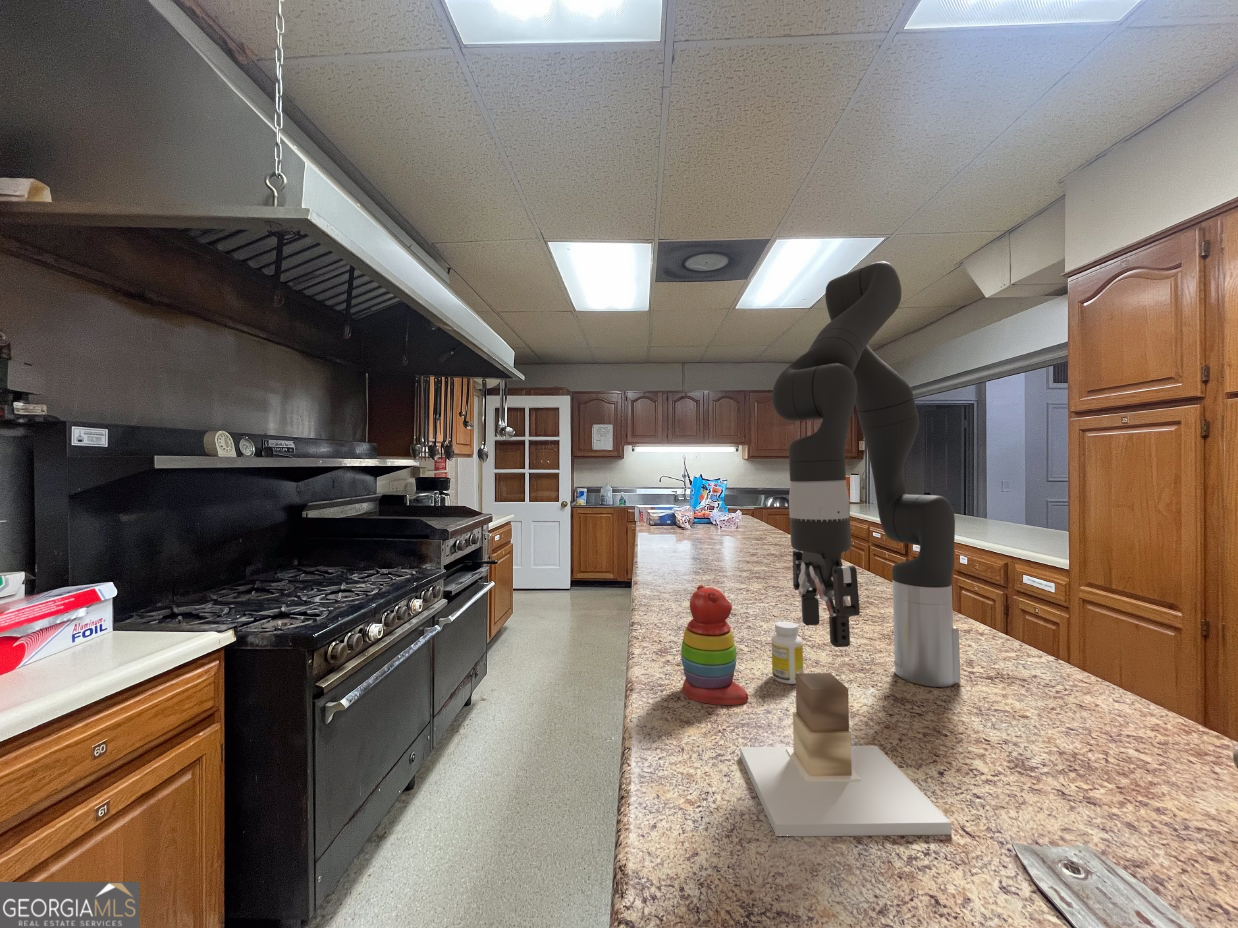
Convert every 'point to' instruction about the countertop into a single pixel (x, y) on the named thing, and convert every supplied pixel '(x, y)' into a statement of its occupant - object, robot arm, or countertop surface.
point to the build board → (840, 796)
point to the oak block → (822, 750)
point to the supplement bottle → (786, 653)
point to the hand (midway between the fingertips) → (824, 634)
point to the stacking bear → (710, 651)
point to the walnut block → (822, 702)
